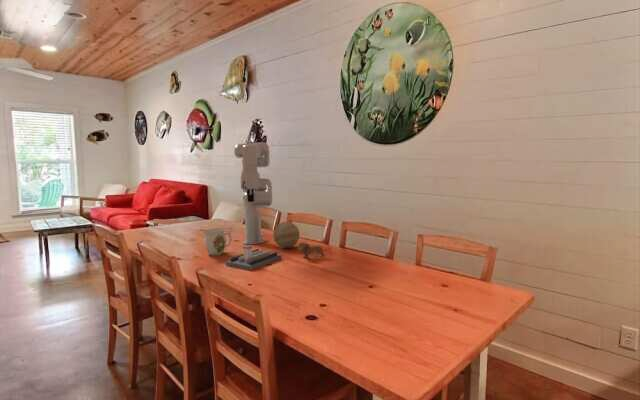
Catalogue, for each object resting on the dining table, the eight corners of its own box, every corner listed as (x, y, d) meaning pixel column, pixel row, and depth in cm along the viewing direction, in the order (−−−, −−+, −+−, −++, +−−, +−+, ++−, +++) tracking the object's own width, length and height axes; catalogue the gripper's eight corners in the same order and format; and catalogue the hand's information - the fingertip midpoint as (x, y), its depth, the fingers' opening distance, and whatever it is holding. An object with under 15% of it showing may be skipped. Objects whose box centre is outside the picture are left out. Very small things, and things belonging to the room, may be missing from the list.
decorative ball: (287, 252, 212) (287, 225, 210) (268, 248, 221) (267, 222, 219) (304, 246, 224) (304, 221, 222) (285, 243, 233) (285, 219, 231)
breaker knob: (247, 258, 191) (247, 245, 190) (252, 259, 189) (252, 246, 188) (243, 260, 188) (242, 246, 187) (248, 261, 186) (247, 247, 186)
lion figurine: (300, 260, 196) (299, 243, 195) (296, 257, 201) (296, 241, 200) (326, 257, 201) (326, 241, 200) (322, 255, 206) (322, 238, 205)
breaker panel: (257, 254, 208) (257, 247, 207) (281, 258, 199) (281, 250, 199) (226, 265, 187) (225, 257, 187) (251, 270, 179) (250, 262, 178)
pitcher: (237, 252, 212) (236, 227, 210) (207, 258, 199) (206, 232, 197) (226, 248, 219) (225, 225, 218) (197, 254, 206) (196, 229, 205)
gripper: (253, 166, 214) (254, 199, 217) (235, 168, 201) (236, 202, 204) (264, 167, 210) (264, 200, 213) (246, 169, 197) (246, 204, 200)
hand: (250, 201), depth 208 cm, fingers closed
